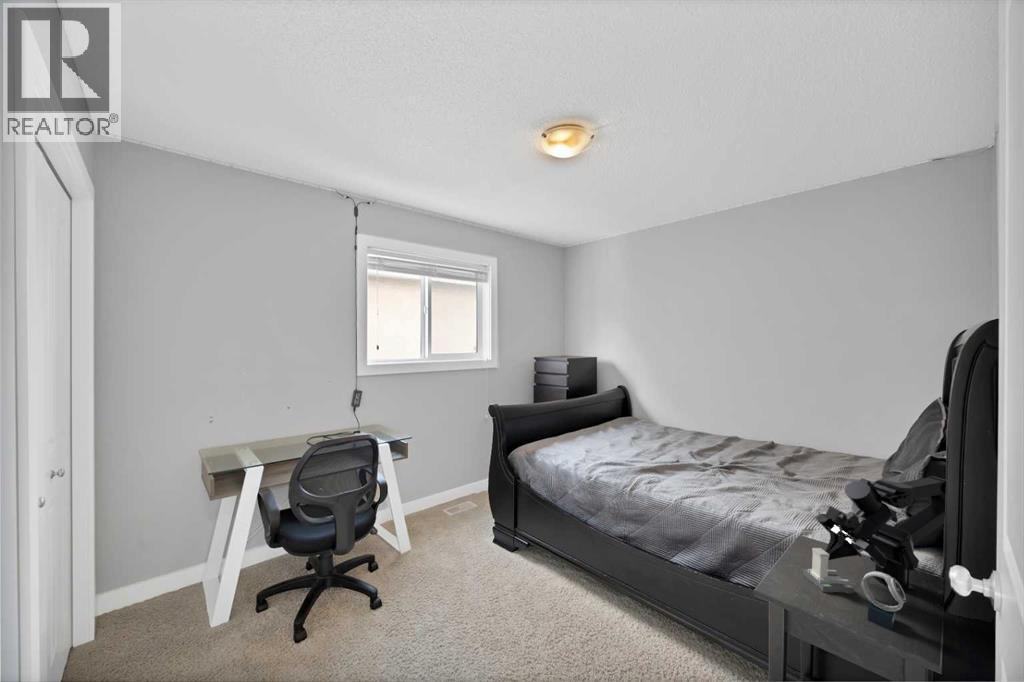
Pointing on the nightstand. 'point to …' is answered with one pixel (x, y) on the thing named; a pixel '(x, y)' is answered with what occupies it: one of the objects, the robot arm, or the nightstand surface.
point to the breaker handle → (819, 564)
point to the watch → (880, 610)
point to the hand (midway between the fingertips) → (825, 558)
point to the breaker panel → (830, 582)
